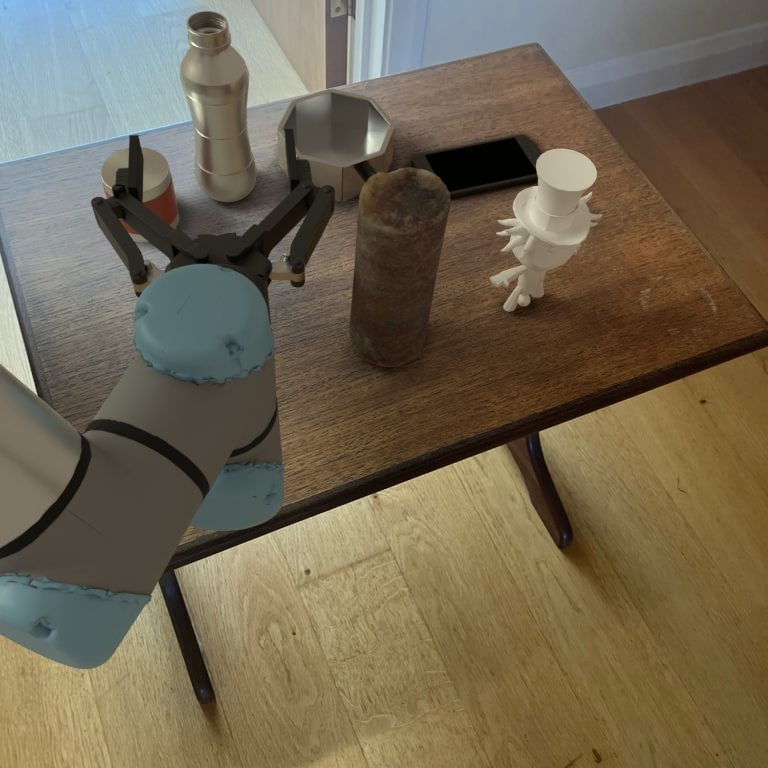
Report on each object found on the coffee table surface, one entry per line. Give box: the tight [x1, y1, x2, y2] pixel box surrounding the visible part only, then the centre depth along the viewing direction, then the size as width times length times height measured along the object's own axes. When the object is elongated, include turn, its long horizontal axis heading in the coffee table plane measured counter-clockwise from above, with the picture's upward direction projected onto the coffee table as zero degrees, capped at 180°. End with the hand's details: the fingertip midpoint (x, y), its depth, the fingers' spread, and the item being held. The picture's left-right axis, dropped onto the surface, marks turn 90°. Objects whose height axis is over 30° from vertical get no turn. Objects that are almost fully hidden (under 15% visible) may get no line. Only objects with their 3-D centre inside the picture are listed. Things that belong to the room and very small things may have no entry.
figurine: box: [489, 148, 604, 313], centre depth 76 cm, size 10×8×18 cm
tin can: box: [100, 146, 180, 244], centre depth 84 cm, size 7×7×7 cm
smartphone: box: [410, 134, 542, 199], centre depth 94 cm, size 7×15×1 cm, turn 109°
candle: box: [348, 166, 452, 368], centre depth 71 cm, size 8×7×20 cm
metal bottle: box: [179, 10, 258, 203], centre depth 82 cm, size 6×7×20 cm
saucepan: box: [276, 88, 396, 203], centre depth 90 cm, size 18×12×5 cm, turn 30°
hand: (213, 143), depth 74 cm, fingers open, 13 cm apart
